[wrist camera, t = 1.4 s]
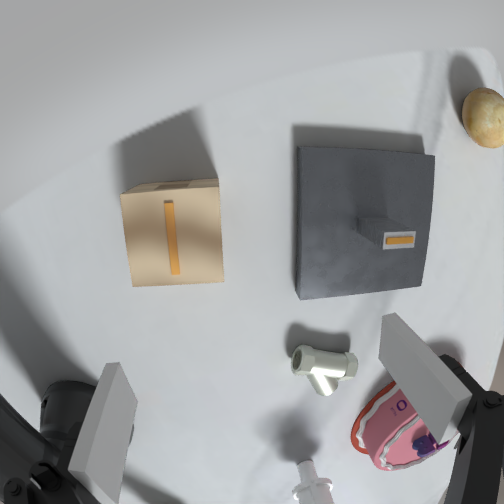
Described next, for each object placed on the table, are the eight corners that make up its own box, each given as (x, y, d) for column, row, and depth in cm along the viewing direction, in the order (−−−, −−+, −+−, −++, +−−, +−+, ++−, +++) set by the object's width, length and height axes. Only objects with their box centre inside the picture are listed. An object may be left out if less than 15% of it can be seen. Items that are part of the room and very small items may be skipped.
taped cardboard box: (222, 254, 33) (224, 283, 27) (147, 259, 33) (132, 287, 26) (218, 178, 31) (219, 187, 24) (139, 184, 30) (119, 195, 23)
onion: (462, 153, 33) (500, 158, 26) (446, 94, 30) (484, 90, 23) (495, 139, 32) (531, 143, 26) (481, 85, 30) (517, 82, 23)
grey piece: (295, 292, 36) (314, 327, 29) (297, 146, 31) (321, 147, 23) (412, 279, 37) (446, 306, 30) (425, 154, 32) (467, 160, 25)
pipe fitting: (329, 383, 42) (351, 348, 40) (336, 402, 39) (361, 367, 36) (279, 376, 41) (299, 339, 38) (283, 397, 37) (305, 360, 35)
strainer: (285, 460, 47) (301, 529, 33) (323, 450, 47) (347, 517, 33) (288, 476, 49) (303, 539, 35) (323, 468, 50) (344, 529, 35)
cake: (475, 338, 44) (510, 371, 34) (448, 423, 52) (471, 454, 42) (351, 389, 43) (378, 439, 33) (348, 466, 51) (363, 505, 41)
